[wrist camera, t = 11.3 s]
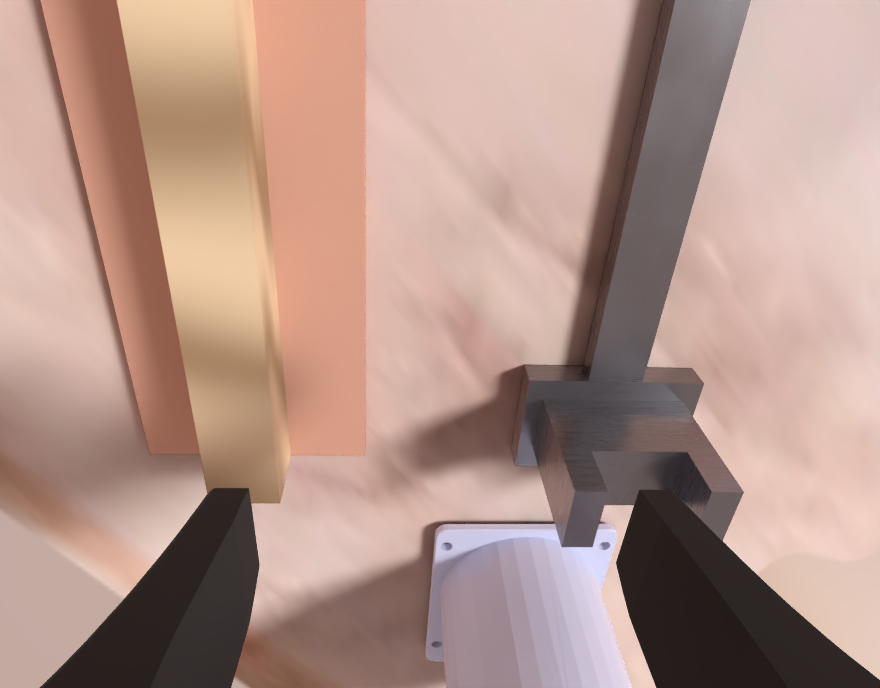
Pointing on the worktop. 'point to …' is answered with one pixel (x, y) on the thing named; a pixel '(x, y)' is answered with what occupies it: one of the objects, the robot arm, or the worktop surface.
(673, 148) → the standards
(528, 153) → the worktop surface
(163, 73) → the rail
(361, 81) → the mat
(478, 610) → the robot arm
